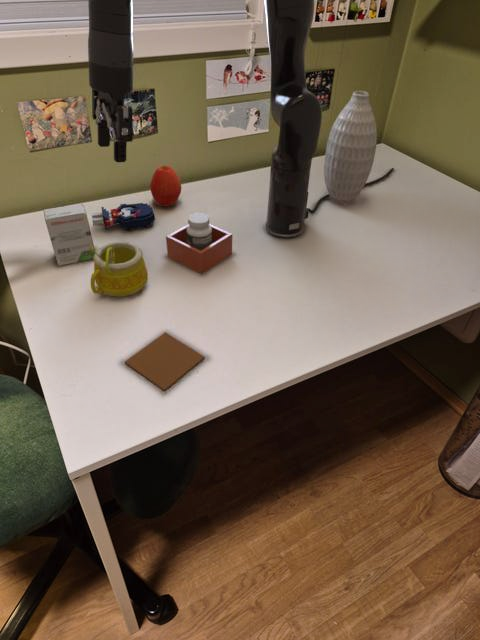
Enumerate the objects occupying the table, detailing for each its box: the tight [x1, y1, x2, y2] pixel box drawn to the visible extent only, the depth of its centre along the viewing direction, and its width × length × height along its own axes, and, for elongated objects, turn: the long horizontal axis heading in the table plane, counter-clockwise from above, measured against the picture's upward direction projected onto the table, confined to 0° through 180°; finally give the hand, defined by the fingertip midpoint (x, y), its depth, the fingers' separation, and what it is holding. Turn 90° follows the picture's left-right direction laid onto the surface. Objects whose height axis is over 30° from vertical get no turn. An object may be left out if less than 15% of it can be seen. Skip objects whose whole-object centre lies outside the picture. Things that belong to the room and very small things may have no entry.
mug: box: [90, 241, 148, 297], centre depth 95 cm, size 13×11×12 cm
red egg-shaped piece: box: [149, 164, 182, 207], centre depth 124 cm, size 8×8×11 cm
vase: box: [323, 90, 378, 205], centre depth 122 cm, size 13×13×28 cm
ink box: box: [43, 203, 96, 267], centre depth 103 cm, size 9×5×12 cm, turn 113°
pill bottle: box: [186, 212, 212, 251], centre depth 105 cm, size 6×6×10 cm
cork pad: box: [124, 332, 206, 392], centre depth 83 cm, size 10×10×1 cm
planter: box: [165, 223, 233, 275], centre depth 107 cm, size 11×11×6 cm
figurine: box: [91, 202, 156, 232], centre depth 117 cm, size 9×4×15 cm
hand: (111, 153), depth 91 cm, fingers open, 8 cm apart
